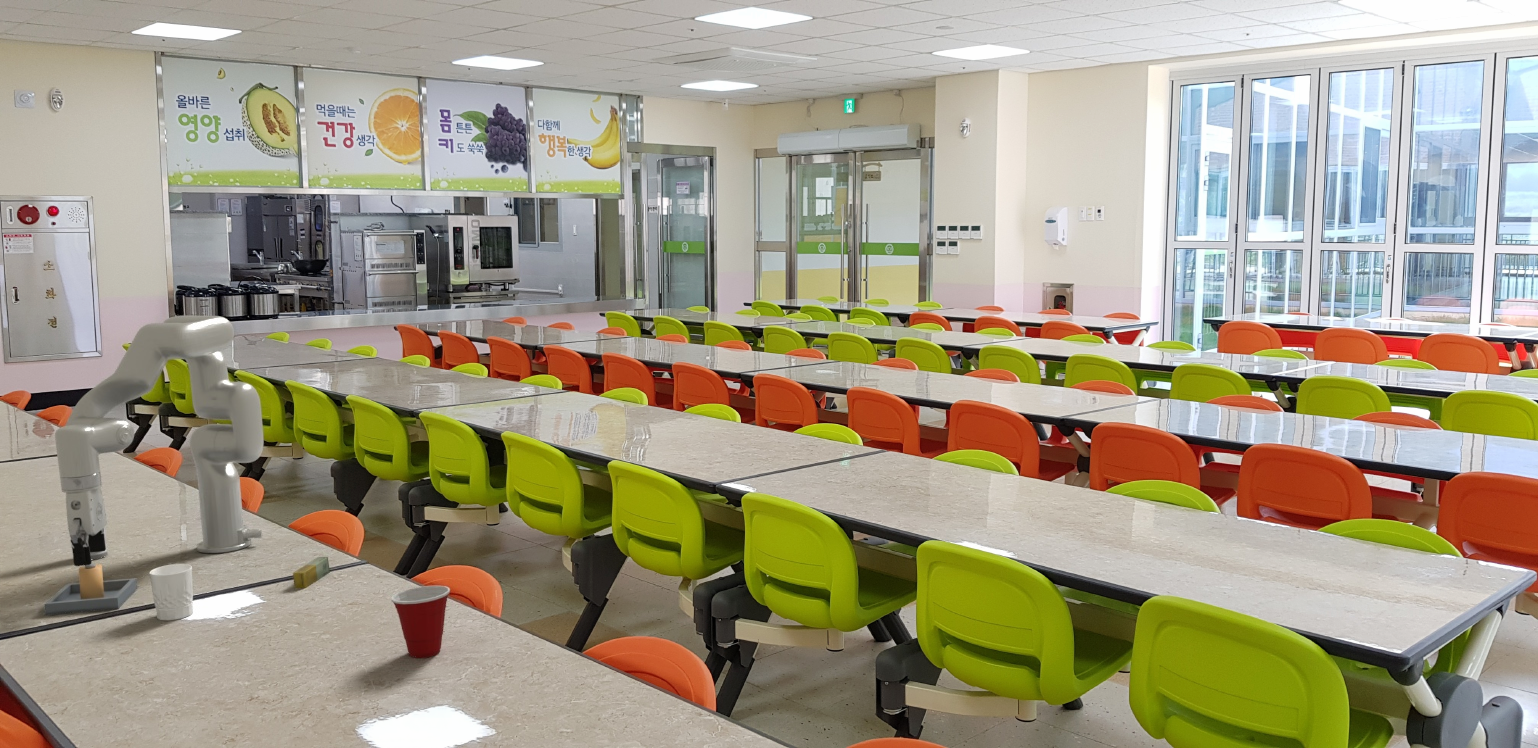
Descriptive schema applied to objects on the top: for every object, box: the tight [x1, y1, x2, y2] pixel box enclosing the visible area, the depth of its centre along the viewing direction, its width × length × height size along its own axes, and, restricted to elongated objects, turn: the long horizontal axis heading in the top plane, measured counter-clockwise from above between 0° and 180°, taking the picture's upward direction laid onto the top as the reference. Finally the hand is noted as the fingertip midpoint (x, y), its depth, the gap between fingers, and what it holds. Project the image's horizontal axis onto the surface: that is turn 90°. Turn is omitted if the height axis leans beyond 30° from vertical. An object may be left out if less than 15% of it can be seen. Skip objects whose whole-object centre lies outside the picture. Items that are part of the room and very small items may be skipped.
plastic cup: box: [390, 585, 451, 659], centre depth 216 cm, size 11×11×12 cm
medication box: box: [292, 556, 331, 590], centre depth 262 cm, size 12×3×4 cm, turn 175°
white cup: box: [149, 563, 194, 621], centre depth 240 cm, size 8×8×10 cm
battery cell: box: [78, 563, 104, 599], centre depth 250 cm, size 4×4×8 cm
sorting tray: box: [43, 577, 138, 616], centre depth 250 cm, size 14×14×2 cm
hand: (90, 558), depth 249 cm, fingers open, 9 cm apart
